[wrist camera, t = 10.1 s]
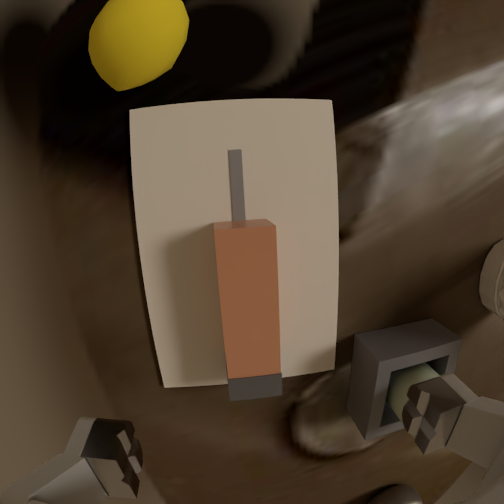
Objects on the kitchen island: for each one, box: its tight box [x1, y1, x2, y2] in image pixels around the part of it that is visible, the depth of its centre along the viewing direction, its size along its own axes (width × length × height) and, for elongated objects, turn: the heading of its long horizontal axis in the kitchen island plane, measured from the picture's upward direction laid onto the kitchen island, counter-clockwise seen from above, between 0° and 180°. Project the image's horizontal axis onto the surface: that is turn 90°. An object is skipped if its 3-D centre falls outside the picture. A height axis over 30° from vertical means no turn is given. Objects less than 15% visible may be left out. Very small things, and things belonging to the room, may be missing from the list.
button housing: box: [347, 318, 462, 440], centre depth 21 cm, size 7×7×4 cm
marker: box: [214, 219, 282, 401], centre depth 18 cm, size 10×3×3 cm, turn 3°
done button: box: [385, 362, 440, 438], centre depth 18 cm, size 4×4×5 cm
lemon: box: [88, 0, 189, 91], centre depth 13 cm, size 7×5×5 cm
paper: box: [130, 99, 339, 388], centre depth 19 cm, size 18×12×1 cm, turn 4°
